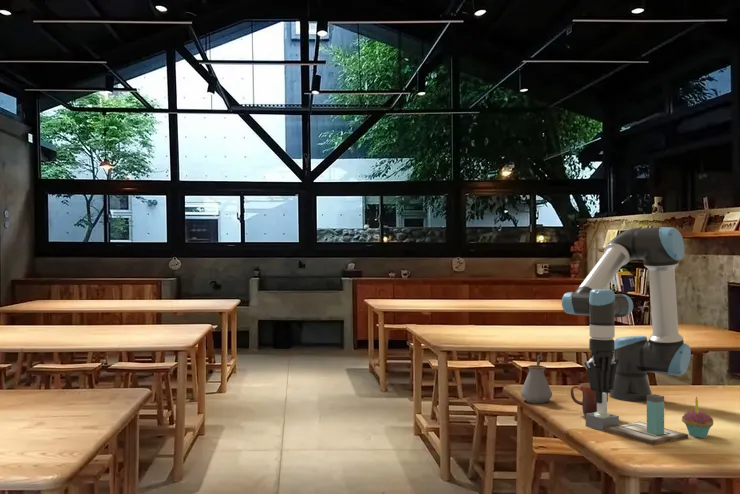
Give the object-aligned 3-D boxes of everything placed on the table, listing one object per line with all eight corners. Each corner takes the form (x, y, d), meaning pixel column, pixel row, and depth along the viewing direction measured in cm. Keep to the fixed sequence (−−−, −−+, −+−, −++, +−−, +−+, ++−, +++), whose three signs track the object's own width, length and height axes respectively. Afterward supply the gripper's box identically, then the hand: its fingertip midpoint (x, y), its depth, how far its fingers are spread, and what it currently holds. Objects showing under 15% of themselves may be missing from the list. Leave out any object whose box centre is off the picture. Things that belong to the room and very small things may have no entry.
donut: (712, 441, 191) (712, 399, 191) (680, 436, 195) (680, 396, 195) (714, 434, 198) (714, 394, 198) (683, 430, 202) (683, 391, 203)
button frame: (601, 423, 211) (601, 411, 211) (618, 428, 204) (618, 416, 204) (585, 425, 207) (585, 413, 207) (603, 431, 201) (603, 418, 201)
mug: (609, 414, 222) (609, 384, 222) (605, 420, 214) (605, 389, 214) (573, 410, 228) (573, 381, 228) (568, 416, 220) (568, 385, 220)
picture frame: (640, 424, 209) (640, 420, 209) (688, 437, 194) (688, 433, 194) (604, 431, 201) (604, 426, 201) (651, 445, 186) (651, 440, 186)
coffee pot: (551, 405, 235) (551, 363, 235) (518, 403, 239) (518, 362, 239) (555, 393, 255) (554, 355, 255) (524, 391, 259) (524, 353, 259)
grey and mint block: (654, 430, 197) (654, 394, 197) (664, 433, 194) (664, 396, 194) (646, 432, 195) (646, 395, 195) (656, 435, 192) (656, 397, 192)
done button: (601, 422, 209) (601, 411, 209) (613, 425, 205) (613, 414, 205) (590, 424, 207) (590, 413, 207) (602, 427, 203) (602, 416, 203)
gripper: (606, 335, 213) (607, 408, 212) (577, 338, 206) (577, 412, 206) (625, 338, 206) (625, 413, 206) (596, 340, 200) (596, 418, 199)
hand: (601, 413), depth 206 cm, fingers closed
